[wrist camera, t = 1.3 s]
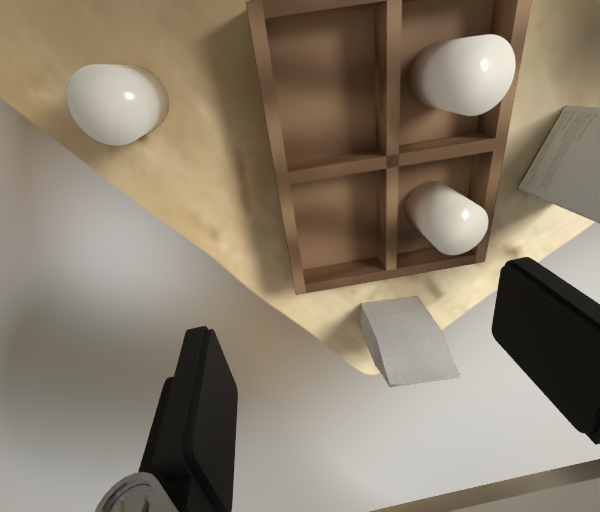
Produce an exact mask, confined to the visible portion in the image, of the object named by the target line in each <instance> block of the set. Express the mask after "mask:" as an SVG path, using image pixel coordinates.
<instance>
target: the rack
mask: <svg viewBox="0 0 600 512" xmlns="http://www.w3.org/2000/svg"><path fill="white" fill-rule="evenodd" d="M531 2H532V0H252V1H246V6H247V12H248V18H249V24H250V30H251V35H252V41H253V47H254V53H255V59H256V65H257V70H258V76H259V82H260V88H261V94H262V100H263V105H264V111H265V117H266V123H267V129H268V135H269V141H270V146H271V152H272V158H273V164H274V170H275V176H276V181H277V187H278V193H279V199H280V205H281V211H282V216H283V222H284V228H285V234H286V240H287V246H288V252H289V257H290V263H291V269H292V275H293V281H294V286H295V292H296V295H298V294H304V293H310V292H315V291H321V290H327V289H332V288H338V287H344V286H350V285H355V284H361V283H367V282H372V281H378V280H384V279H389V278H395V277H401V276H407V275H412V274H418V273H424V272H429V271H435V270H441V269H446V268H452V267H458V266H463V265H469V264H475V263H481V262H485V258H486V252H487V247H488V241H489V236H490V230H491V224H492V219H493V213H494V208H495V202H496V197H497V191H498V186H499V180H500V174H501V169H502V163H503V158H504V152H505V147H506V141H507V136H508V130H509V124H510V119H511V113H512V108H513V102H514V97H515V91H516V86H517V80H518V74H519V69H520V63H521V58H522V52H523V47H524V41H525V36H526V30H527V25H528V19H529V13H530V8H531ZM488 34H493V35H498V36H500V37H502V38H504V39H505V40H507V41H508V43H509V44H510V45H511V47H512V49H513V51H514V55H515V73H514V78H513V81H512V83H511V86H510V88H509V90H508V91H507V93H506V94H505V96H504V97H503V98H502V100H501V101H500V102H499V103H498V104H497V105H496V106H494V107H493V108H492V109H490V110H489V111H487V112H485V113H483V114H480V115H476V116H466V115H462V114H457V113H453V112H449V111H444V110H440V109H436V108H432V107H427V106H424V105H421V104H419V103H418V102H417V101H416V100H415V99H414V98H413V96H412V95H411V92H410V89H409V84H408V78H409V72H410V68H411V65H412V63H413V61H414V59H415V58H416V56H417V55H418V54H419V52H420V51H421V50H422V49H424V48H425V47H426V46H428V45H429V44H431V43H434V42H437V41H444V40H451V39H458V38H465V37H472V36H480V35H488ZM432 180H433V181H439V182H442V183H444V184H445V185H447V186H448V187H450V188H452V189H453V190H455V191H456V192H458V193H460V194H461V195H463V196H464V197H466V198H468V199H469V200H471V201H472V202H474V203H476V204H477V205H479V206H480V207H482V208H483V209H484V210H485V212H486V213H487V216H488V228H487V231H486V233H485V235H484V237H483V238H482V240H481V241H480V242H479V243H478V244H477V245H476V246H475V247H474V248H472V249H471V250H469V251H467V252H465V253H462V254H458V255H447V254H444V253H442V252H440V251H439V250H438V249H437V248H436V247H435V246H434V245H433V244H432V243H431V242H430V241H429V240H428V239H427V238H426V237H425V236H424V235H423V234H422V233H421V232H420V231H419V230H418V229H417V228H416V227H415V226H414V225H413V224H412V223H411V222H410V221H409V220H408V219H407V217H406V215H405V211H404V206H405V201H406V199H407V197H408V195H409V193H410V192H411V191H412V190H413V189H414V188H415V187H416V186H418V185H419V184H421V183H423V182H426V181H432Z"/></svg>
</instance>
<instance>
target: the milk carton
mask: <svg viewBox="0 0 600 512" xmlns="http://www.w3.org/2000/svg"><path fill="white" fill-rule="evenodd" d="M360 328H361V331H362V333H363V336H364V338H365V341H366V343H367V346H368V348H369V351H370V353H371V356H372V358H373V361H374V363H375V366H376V367H377V368H378V370H379V371H380V372H381V374H382V375H383V377H384V378H385V380H386V381H387V383H388V385H389V387H395V386H402V385H409V384H417V383H424V382H431V381H438V380H445V379H452V378H459V376H458V375H460V373H459V371H458V369H457V367H456V365H455V363H454V360H453V358H452V356H451V353H450V350H449V348H448V345H447V343H446V340H445V337H444V335H443V332H442V330H441V329H440V327H439V326H438V324H437V323H436V322H435V320H434V319H433V317H432V316H431V314H430V313H429V312H428V310H427V309H426V307H425V306H424V304H423V303H422V302H421V300H420V299H419V297H418V296H415V297H407V298H399V299H390V300H382V301H374V302H366V303H361V318H360Z"/></svg>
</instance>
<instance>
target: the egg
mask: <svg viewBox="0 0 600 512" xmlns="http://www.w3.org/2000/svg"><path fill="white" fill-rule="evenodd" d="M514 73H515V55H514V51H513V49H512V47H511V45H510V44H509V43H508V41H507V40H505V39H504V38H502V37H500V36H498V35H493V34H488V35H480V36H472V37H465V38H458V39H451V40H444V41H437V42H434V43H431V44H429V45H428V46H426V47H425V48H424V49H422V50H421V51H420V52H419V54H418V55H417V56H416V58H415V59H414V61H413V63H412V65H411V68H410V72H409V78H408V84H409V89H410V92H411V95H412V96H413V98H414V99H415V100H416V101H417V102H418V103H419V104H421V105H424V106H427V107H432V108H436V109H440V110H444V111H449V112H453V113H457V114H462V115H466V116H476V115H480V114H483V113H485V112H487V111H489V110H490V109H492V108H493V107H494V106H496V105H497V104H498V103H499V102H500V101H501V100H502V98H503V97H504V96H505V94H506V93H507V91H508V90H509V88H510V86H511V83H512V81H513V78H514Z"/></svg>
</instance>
